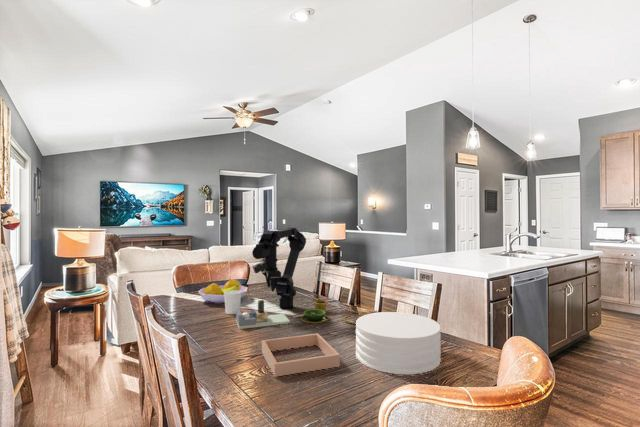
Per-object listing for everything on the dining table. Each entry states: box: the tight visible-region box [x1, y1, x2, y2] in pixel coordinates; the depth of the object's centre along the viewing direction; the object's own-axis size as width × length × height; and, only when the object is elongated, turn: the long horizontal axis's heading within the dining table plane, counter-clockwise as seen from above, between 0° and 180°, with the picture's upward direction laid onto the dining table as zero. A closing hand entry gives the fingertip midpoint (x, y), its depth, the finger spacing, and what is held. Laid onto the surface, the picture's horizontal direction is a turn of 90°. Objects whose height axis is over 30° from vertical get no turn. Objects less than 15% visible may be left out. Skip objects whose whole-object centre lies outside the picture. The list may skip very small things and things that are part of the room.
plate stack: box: [355, 311, 442, 374], centre depth 122 cm, size 28×28×12 cm
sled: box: [250, 299, 269, 322], centre depth 160 cm, size 6×6×8 cm
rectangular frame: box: [261, 332, 341, 377], centre depth 120 cm, size 21×21×4 cm
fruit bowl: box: [197, 278, 248, 304], centre depth 199 cm, size 28×27×11 cm
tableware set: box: [292, 300, 365, 329], centre depth 160 cm, size 41×28×6 cm
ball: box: [242, 311, 250, 319], centre depth 158 cm, size 4×4×4 cm
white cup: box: [224, 290, 242, 315], centre depth 175 cm, size 8×8×10 cm
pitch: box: [235, 308, 291, 330], centre depth 160 cm, size 22×12×6 cm, turn 110°
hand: (270, 289), depth 172 cm, fingers open, 9 cm apart
